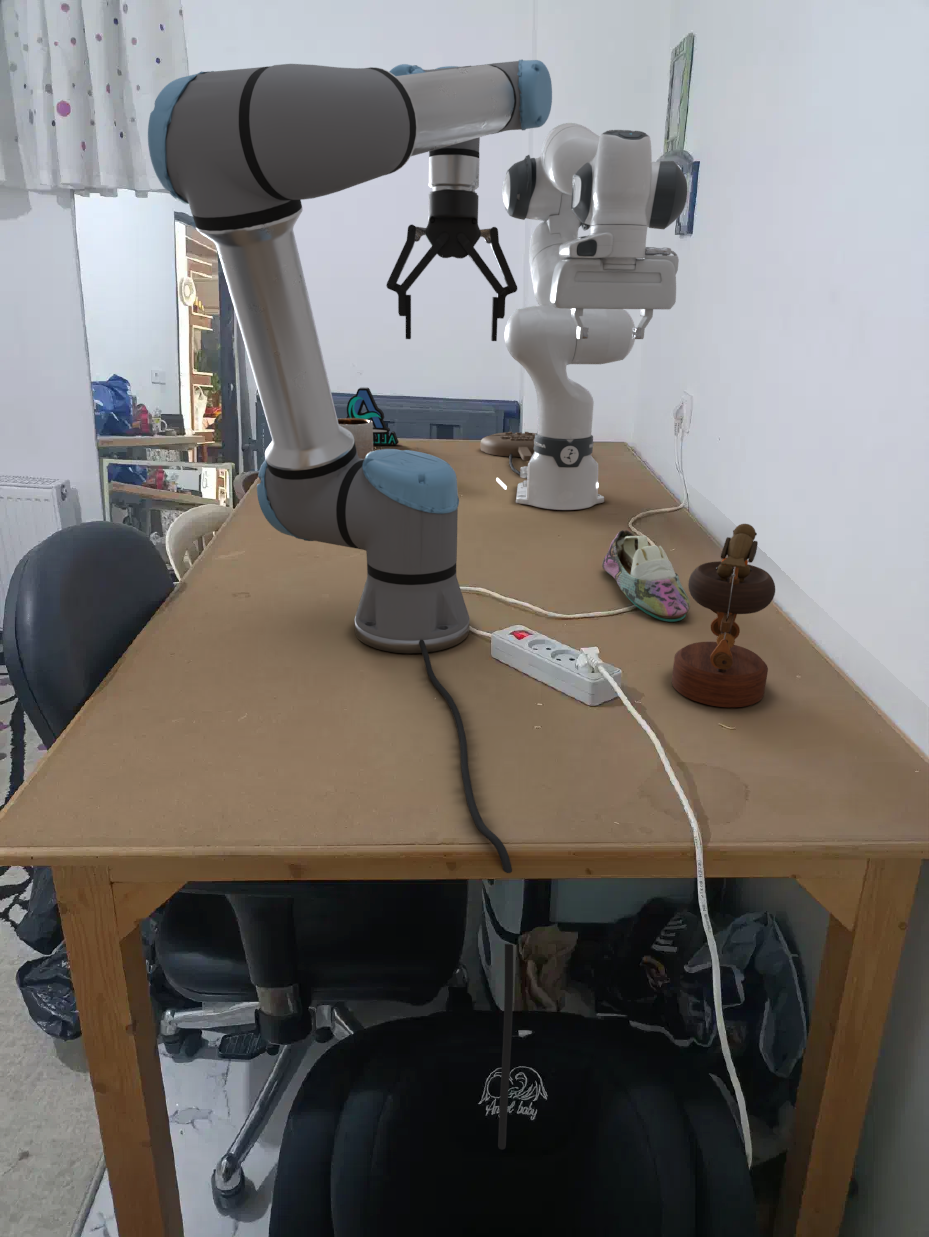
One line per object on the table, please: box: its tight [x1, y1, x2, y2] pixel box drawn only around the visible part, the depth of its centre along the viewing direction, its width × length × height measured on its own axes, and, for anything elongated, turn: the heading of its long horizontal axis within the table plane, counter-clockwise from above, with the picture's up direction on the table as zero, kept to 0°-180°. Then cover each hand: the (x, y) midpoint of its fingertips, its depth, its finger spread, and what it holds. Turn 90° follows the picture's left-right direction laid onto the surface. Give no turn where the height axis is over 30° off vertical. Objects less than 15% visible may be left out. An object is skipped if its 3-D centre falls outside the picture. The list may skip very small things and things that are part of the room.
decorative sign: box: [345, 386, 400, 446], centre depth 231 cm, size 19×2×15 cm, turn 86°
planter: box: [337, 417, 375, 459], centre depth 212 cm, size 11×11×10 cm
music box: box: [671, 523, 776, 708], centre depth 96 cm, size 15×11×20 cm
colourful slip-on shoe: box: [601, 529, 691, 623], centre depth 126 cm, size 8×24×9 cm, turn 9°
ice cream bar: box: [479, 431, 537, 462], centre depth 222 cm, size 21×28×4 cm
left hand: (451, 340), depth 134 cm, fingers open, 13 cm apart
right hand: (610, 339), depth 138 cm, fingers open, 8 cm apart
